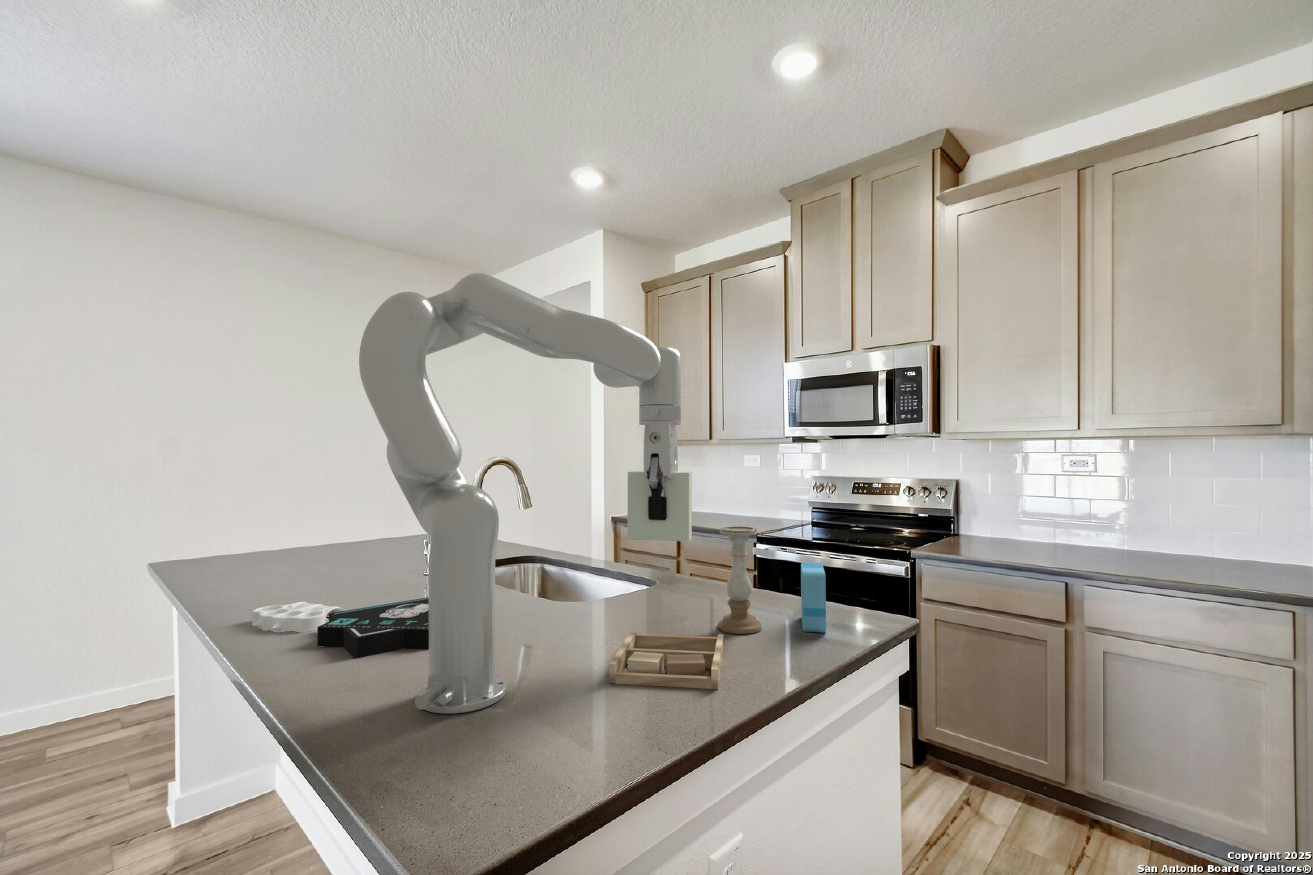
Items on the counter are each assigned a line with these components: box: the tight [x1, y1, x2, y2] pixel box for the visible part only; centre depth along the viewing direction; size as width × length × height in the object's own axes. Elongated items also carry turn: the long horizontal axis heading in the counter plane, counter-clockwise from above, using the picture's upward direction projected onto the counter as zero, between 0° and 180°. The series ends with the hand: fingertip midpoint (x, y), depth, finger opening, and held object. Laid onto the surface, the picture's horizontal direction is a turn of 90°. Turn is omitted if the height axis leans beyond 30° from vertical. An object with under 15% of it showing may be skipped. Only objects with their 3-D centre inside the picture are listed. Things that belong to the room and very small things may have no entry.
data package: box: [800, 562, 827, 633], centre depth 125 cm, size 12×4×12 cm, turn 167°
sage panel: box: [627, 471, 693, 542], centre depth 108 cm, size 4×11×12 cm, turn 80°
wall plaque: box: [316, 596, 429, 659], centre depth 122 cm, size 30×4×30 cm
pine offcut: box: [627, 652, 665, 674], centre depth 99 cm, size 4×5×3 cm
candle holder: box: [717, 525, 762, 635], centre depth 123 cm, size 9×9×20 cm
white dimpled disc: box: [251, 601, 345, 633], centre depth 130 cm, size 3×18×15 cm
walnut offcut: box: [666, 654, 706, 676], centre depth 98 cm, size 4×6×3 cm, turn 91°
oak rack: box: [608, 630, 725, 690], centre depth 102 cm, size 18×17×3 cm
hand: (659, 517), depth 108 cm, fingers closed on sage panel, 4 cm apart
